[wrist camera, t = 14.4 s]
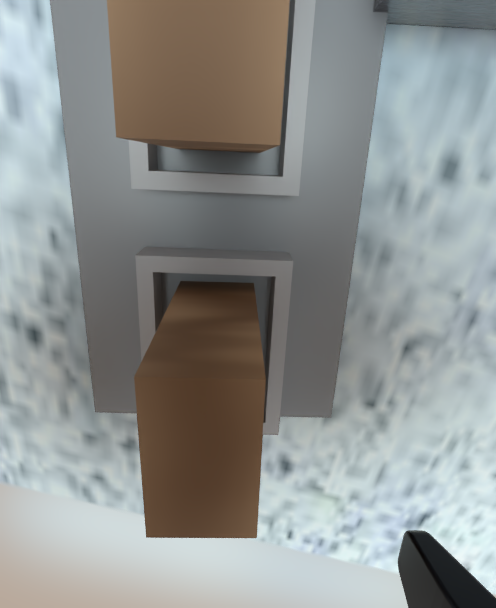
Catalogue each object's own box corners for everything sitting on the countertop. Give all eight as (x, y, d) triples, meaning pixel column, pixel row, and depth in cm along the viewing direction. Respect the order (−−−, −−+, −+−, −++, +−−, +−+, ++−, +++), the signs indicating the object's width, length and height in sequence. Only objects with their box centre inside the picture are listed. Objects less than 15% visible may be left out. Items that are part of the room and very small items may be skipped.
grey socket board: (387, -49, 13) (419, -94, 11) (326, 404, 19) (338, 438, 17) (55, -70, 13) (12, -123, 10) (102, 399, 19) (83, 433, 17)
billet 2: (253, 282, 16) (265, 379, 9) (249, 387, 18) (256, 537, 11) (180, 280, 16) (133, 377, 9) (183, 386, 18) (146, 537, 11)
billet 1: (268, -14, 12) (305, -239, 5) (259, 152, 14) (279, 145, 7) (174, -20, 12) (89, -257, 5) (177, 149, 14) (116, 137, 7)
